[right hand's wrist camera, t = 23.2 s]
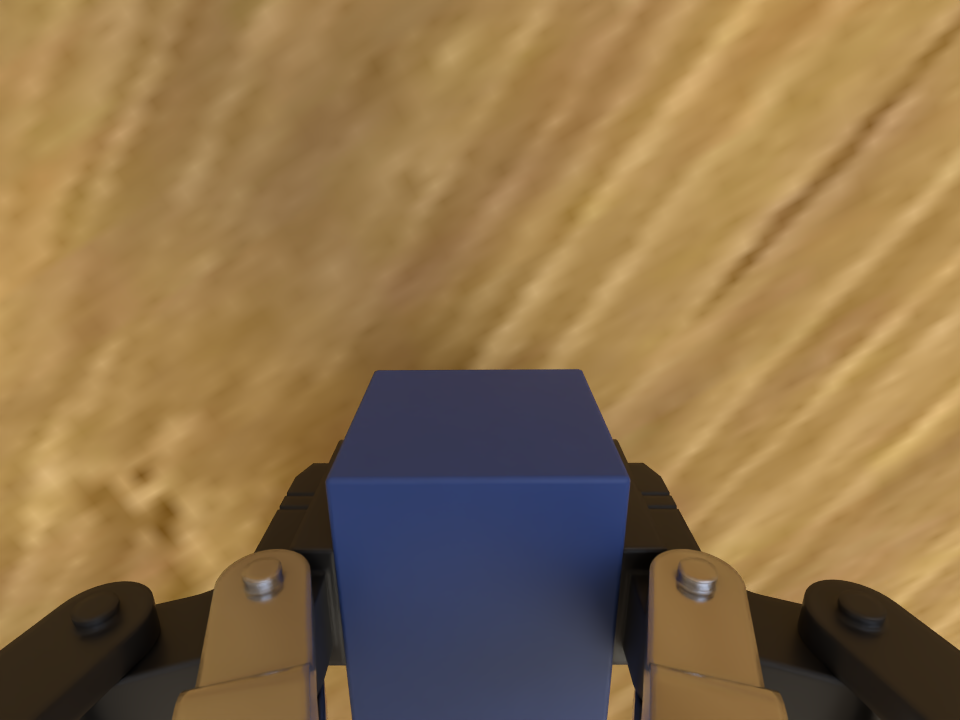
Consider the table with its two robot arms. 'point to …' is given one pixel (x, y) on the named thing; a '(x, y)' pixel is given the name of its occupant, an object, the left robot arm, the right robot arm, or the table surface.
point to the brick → (478, 546)
